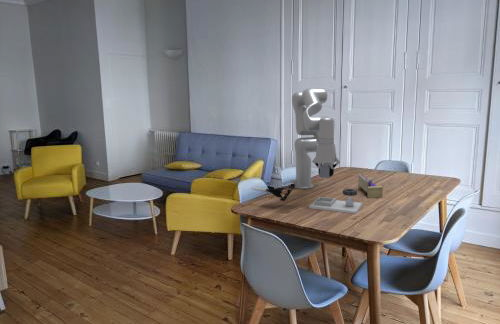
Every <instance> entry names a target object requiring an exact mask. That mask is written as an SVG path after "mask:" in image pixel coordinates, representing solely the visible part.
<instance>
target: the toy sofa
mask: <svg viewBox="0 0 500 324" xmlns="http://www.w3.org/2000/svg"><path fill="white" fill-rule="evenodd" d="M357 181H358V182H357V185H358V186H357V187H358V188H357V189H358V190H363V191H365V192H366V194H367V196H366V197H367V199H370V198H371V199H372V198H374V199H375V198H383V191H384V190H383V189H384V187H383V185H376V184H375V183H373V178H369V177H368V178H366V177H365V176H364V175H363V174H362V173H358V178H357Z"/></svg>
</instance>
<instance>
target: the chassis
mask: <svg viewBox="0 0 500 324" xmlns="http://www.w3.org/2000/svg"><path fill="white" fill-rule="evenodd" d="M362 206H363V202H359V201H358V202H356V201H355V200H354V199H352V196H348V197H347V199H345V200H339V199H337V198H335V197H327V196H326V197H325V196H319V197H317V198H315V200H314V201H313V203H311V204H310V205H309V206H308V207H309V209H313V210H322V211H329V212H339V213H346V214H347V213H348V214H357V213H358V212H359V211H360V209H361V208H362Z"/></svg>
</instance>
